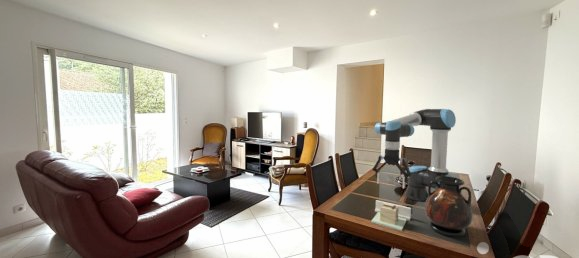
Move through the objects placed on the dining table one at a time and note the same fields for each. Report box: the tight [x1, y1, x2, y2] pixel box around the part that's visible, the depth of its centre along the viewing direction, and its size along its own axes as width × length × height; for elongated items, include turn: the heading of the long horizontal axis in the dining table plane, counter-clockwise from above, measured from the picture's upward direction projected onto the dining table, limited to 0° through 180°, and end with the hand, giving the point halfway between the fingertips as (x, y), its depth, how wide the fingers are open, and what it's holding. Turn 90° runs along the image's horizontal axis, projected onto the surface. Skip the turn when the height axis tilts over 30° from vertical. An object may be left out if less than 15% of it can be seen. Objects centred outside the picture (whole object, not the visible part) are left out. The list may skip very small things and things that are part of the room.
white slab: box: [374, 199, 412, 221], centre depth 143 cm, size 3×20×6 cm, turn 54°
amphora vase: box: [423, 176, 474, 238], centre depth 125 cm, size 22×22×28 cm
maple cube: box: [380, 202, 399, 225], centre depth 134 cm, size 8×8×8 cm
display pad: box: [371, 212, 407, 232], centre depth 135 cm, size 14×16×1 cm
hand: (390, 185), depth 133 cm, fingers open, 13 cm apart
